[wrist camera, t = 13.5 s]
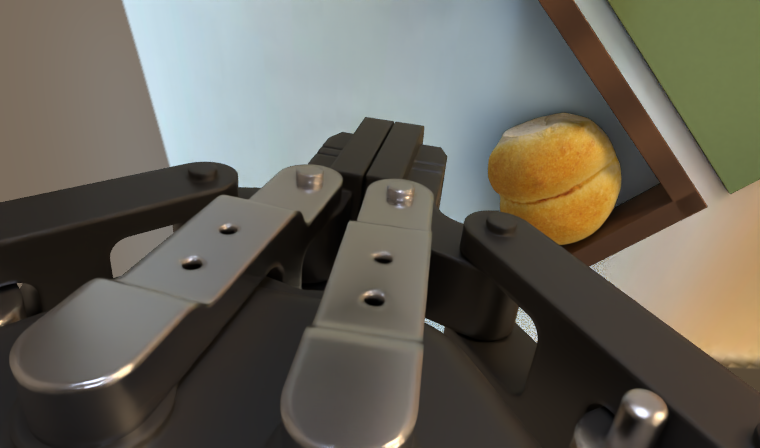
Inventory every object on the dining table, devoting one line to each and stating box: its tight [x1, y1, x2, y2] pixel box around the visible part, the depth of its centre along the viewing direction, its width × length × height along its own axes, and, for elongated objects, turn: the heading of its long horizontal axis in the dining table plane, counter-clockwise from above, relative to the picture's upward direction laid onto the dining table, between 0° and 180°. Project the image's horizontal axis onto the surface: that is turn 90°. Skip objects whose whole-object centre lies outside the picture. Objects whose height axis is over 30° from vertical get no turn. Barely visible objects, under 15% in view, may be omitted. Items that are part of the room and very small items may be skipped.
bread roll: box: [488, 113, 622, 245], centre depth 39 cm, size 8×9×4 cm
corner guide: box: [538, 0, 708, 267], centre depth 39 cm, size 18×18×3 cm
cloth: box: [607, 0, 760, 194], centre depth 34 cm, size 16×10×1 cm, turn 40°
